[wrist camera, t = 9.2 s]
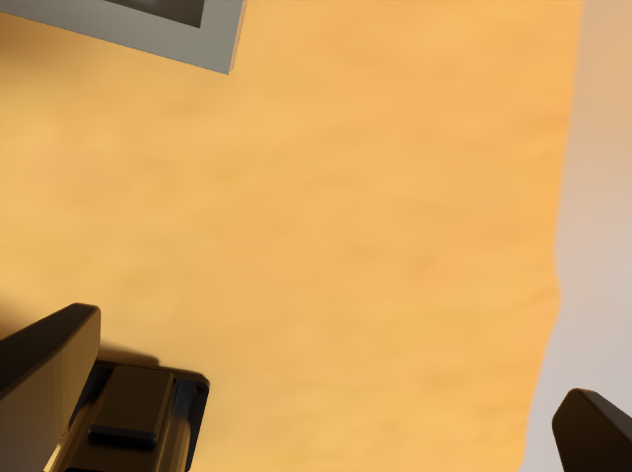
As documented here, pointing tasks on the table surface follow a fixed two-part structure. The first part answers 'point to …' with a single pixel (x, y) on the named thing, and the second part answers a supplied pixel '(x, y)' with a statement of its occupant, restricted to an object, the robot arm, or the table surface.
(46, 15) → the tray
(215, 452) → the table surface
